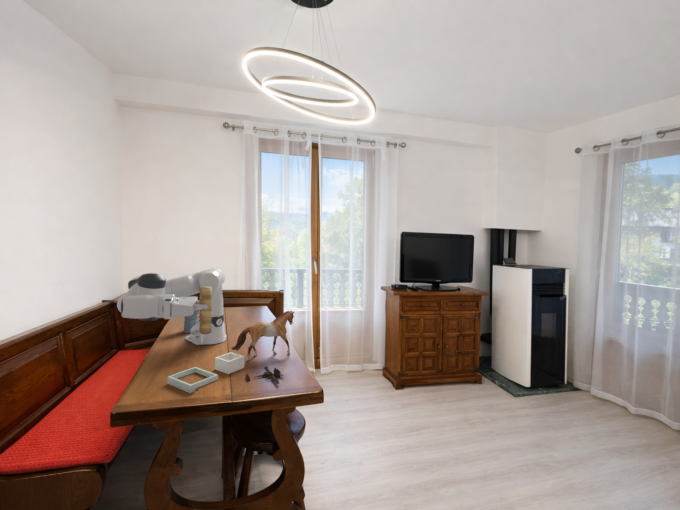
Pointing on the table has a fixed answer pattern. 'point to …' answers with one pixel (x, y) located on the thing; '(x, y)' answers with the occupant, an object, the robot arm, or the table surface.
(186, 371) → the tray
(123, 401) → the table surface
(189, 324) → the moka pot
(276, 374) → the bear figurine
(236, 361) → the white square box
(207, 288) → the dowel
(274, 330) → the horse figurine
